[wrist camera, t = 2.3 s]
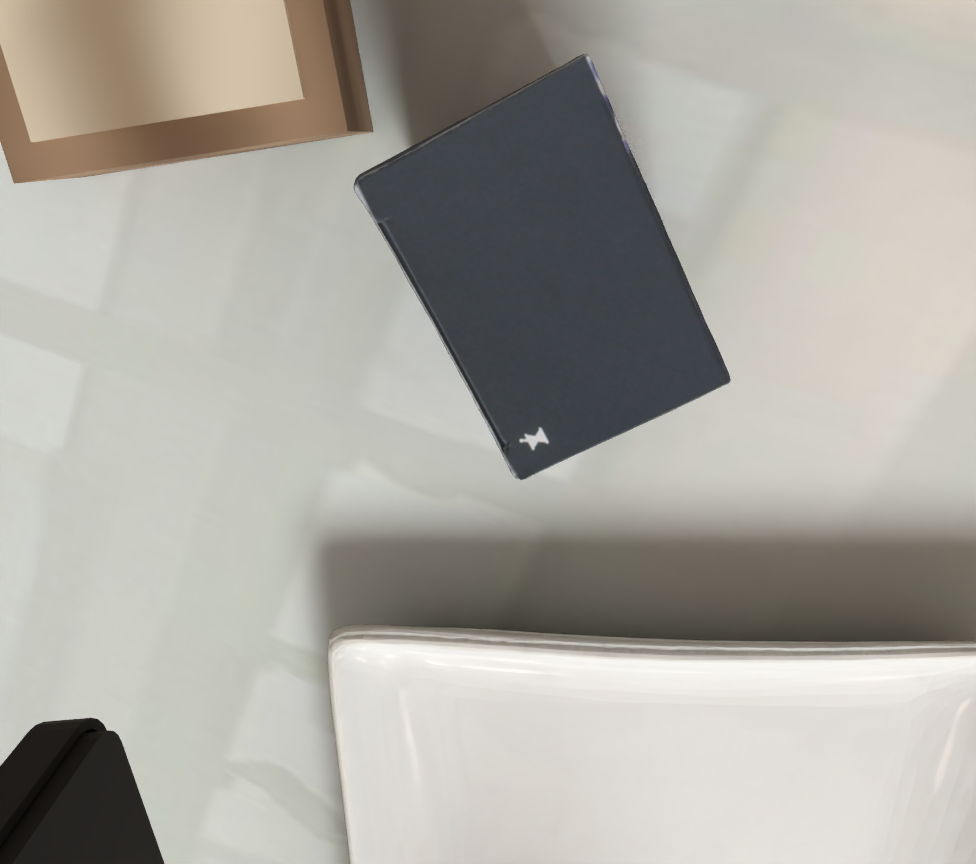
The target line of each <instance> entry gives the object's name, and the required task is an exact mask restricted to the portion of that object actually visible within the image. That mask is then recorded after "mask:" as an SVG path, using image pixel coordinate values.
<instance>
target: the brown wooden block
mask: <svg viewBox="0 0 976 864" xmlns="http://www.w3.org/2000/svg"><path fill="white" fill-rule="evenodd" d="M369 132H373V127H372V122H371V116H370V111H369V105H368V100H367V94H366V88H365V83H364V77H363V72H362V66H361V61H360V55H359V49H358V44H357V38H356V33H355V27H354V21H353V16H352V10H351V5H350V0H0V142H1V145H2V148H3V151H4V154H5V157H6V160H7V163H8V166H9V169H10V172H11V175H12V178H13V182H14V183H24V182H35V181H45V180H56V179H67V178H78V177H87V176H93V175H100V174H106V173H113V172H119V171H126V170H132V169H138V168H145V167H151V166H158V165H164V164H171V163H177V162H183V161H190V160H196V159H203V158H209V157H215V156H222V155H228V154H235V153H241V152H248V151H254V150H260V149H267V148H273V147H280V146H286V145H292V144H299V143H305V142H312V141H318V140H325V139H331V138H337V137H344V136H350V135H357V134H363V133H369Z"/></svg>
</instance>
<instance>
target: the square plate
mask: <svg viewBox="0 0 976 864" xmlns="http://www.w3.org/2000/svg"><path fill="white" fill-rule="evenodd" d="M328 673H329V686H330V698H331V706H332V714H333V725H334V733H335V739H336V751H337V758H338V766H339V773H340V781H341V789H342V798H343V806H344V814H345V822H346V831H347V840H348V848H349V860H350V864H976V641H921V642H916V641H879V642H790V641H705V640H677V639H651V638H626V637H607V636H588V635H569V634H551V633H536V632H522V631H507V630H493V629H473V628H438V627H412V626H393V625H348V626H342V627H339V628H337V629H335V630H333V632H332V633H331V635H330V637H329V643H328Z"/></svg>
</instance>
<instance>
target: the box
mask: <svg viewBox="0 0 976 864" xmlns="http://www.w3.org/2000/svg"><path fill="white" fill-rule="evenodd" d="M354 191H355V193H356V195H357V196H358V198H359V199H360V200H361V202H362V203H363V204H364V206H365V207H366V209H367V211H368V212H369V214H370V215H371V217H372V218H373V220H374V222H375V223H376V225H377V227H378V229H379V231H380V232H381V234H382V236H383V237H384V239H385V241H386V242H387V244H388V246H389V247H390V249H391V251H392V252H393V254H394V256H395V257H396V259H397V261H398V263H399V265H400V267H401V269H402V271H403V272H404V274H405V276H406V278H407V280H408V281H409V283H410V285H411V287H412V288H413V290H414V292H415V294H416V295H417V297H418V299H419V300H420V302H421V304H422V306H423V307H424V309H425V311H426V313H427V314H428V316H429V318H430V320H431V321H432V323H433V325H434V326H435V328H436V330H437V332H438V334H439V336H440V338H441V340H442V342H443V344H444V346H445V348H446V349H447V351H448V353H449V355H450V357H451V359H452V360H453V362H454V364H455V366H456V368H457V369H458V371H459V374H460V376H461V377H462V379H463V380H464V382H465V384H466V386H467V388H468V389H469V391H470V393H471V395H472V397H473V399H474V401H475V403H476V405H477V407H478V409H479V411H480V412H481V414H482V416H483V418H484V420H485V422H486V424H487V426H488V427H489V429H490V431H491V434H492V435H493V437H494V439H495V441H496V443H497V445H498V447H499V449H500V451H501V453H502V455H503V457H504V459H505V461H506V463H507V465H508V467H509V469H510V471H511V473H512V474H513V475H514V477H515V478H516V479H520V480H523V479H527V478H529V477H530V476H532V475H534V474H536V473H538V472H540V471H542V470H544V469H547V468H549V467H551V466H553V465H555V464H557V463H559V462H561V461H564V460H566V459H568V458H570V457H572V456H574V455H576V454H578V453H581V452H583V451H585V450H587V449H589V448H591V447H594V446H596V445H598V444H600V443H602V442H605V441H607V440H609V439H611V438H613V437H616V436H618V435H620V434H622V433H624V432H626V431H628V430H631V429H633V428H635V427H637V426H639V425H641V424H644V423H646V422H648V421H650V420H653V419H655V418H657V417H659V416H662V415H664V414H666V413H668V412H670V411H672V410H674V409H676V408H678V407H681V406H683V405H685V404H687V403H689V402H691V401H693V400H695V399H697V398H699V397H702V396H704V395H706V394H708V393H710V392H712V391H714V390H716V389H718V388H720V387H722V386H724V385H726V384H728V383H729V382H730V381H731V380H730V376H729V373H728V371H727V368H726V366H725V364H724V361H723V359H722V356H721V354H720V352H719V349H718V347H717V345H716V343H715V341H714V338H713V336H712V334H711V332H710V330H709V328H708V326H707V324H706V322H705V319H704V317H703V315H702V312H701V310H700V307H699V305H698V303H697V301H696V299H695V296H694V294H693V292H692V290H691V287H690V285H689V282H688V280H687V278H686V275H685V273H684V271H683V268H682V266H681V264H680V261H679V259H678V257H677V255H676V252H675V250H674V248H673V246H672V243H671V241H670V239H669V237H668V234H667V232H666V230H665V227H664V225H663V222H662V220H661V217H660V215H659V213H658V211H657V208H656V206H655V204H654V202H653V200H652V197H651V195H650V193H649V191H648V188H647V186H646V183H645V182H644V180H643V178H642V175H641V173H640V170H639V168H638V166H637V163H636V161H635V159H634V157H633V155H632V153H631V151H630V149H629V146H628V144H627V141H626V139H625V136H624V134H623V132H622V129H621V127H620V125H619V123H618V121H617V118H616V116H615V114H614V111H613V109H612V107H611V104H610V102H609V100H608V98H607V95H606V93H605V91H604V88H603V86H602V84H601V82H600V79H599V77H598V75H597V72H596V70H595V67H594V65H593V63H592V60H591V58H590V57H589V55H587V54H583V55H581V56H578V57H576V58H575V59H573V60H571V61H570V62H568V63H567V64H565V65H563V66H561V67H559V68H557V69H555V70H553V71H552V72H550V73H548V74H546V75H545V76H543V77H541V78H539V79H537V80H535V81H533V82H532V83H530V84H528V85H526V86H524V87H522V88H521V89H519V90H517V91H515V92H513V93H511V94H509V95H508V96H506V97H504V98H502V99H500V100H498V101H496V102H494V103H492V104H491V105H489V106H487V107H485V108H483V109H481V110H479V111H478V112H476V113H474V114H472V115H470V116H469V117H467V118H465V119H463V120H460V121H458V122H457V123H455V124H453V125H452V126H450V127H448V128H446V129H444V130H442V131H440V132H439V133H437V134H435V135H433V136H431V137H429V138H427V139H425V140H423V141H422V142H420V143H418V144H416V145H414V146H412V147H410V148H409V149H407V150H405V151H403V152H401V153H399V154H397V155H396V156H394V157H392V158H390V159H388V160H386V161H384V162H382V163H381V164H379V165H377V166H375V167H373V168H371V169H369V170H367V171H365V172H363V173H362V174H360V175H359V176H358V177H357V178H356V180H355V183H354Z"/></svg>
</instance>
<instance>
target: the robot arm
mask: <svg viewBox="0 0 976 864" xmlns="http://www.w3.org/2000/svg"><path fill="white" fill-rule="evenodd" d="M0 864H164V861H163V859H162V856H161V853H160V850H159V847H158V844H157V841H156V839H155V836H154V833H153V830H152V827H151V824H150V821H149V819H148V816H147V813H146V810H145V807H144V804H143V802H142V799H141V796H140V793H139V790H138V787H137V784H136V782H135V779H134V776H133V773H132V770H131V767H130V765H129V762H128V759H127V756H126V753H125V750H124V747H123V745H122V742H121V740H120V738H119V736H118V734H116V733H115V732H114V731H107V730H106V728H105V726H104V724H103V723H102V722H100V721H99V720H98V719H94V718H85V719H73V720H61V721H49V722H43V723H40V724H37V725H35V726H34V727H33V728H32V729H31V730H30V731H29V732H28V733H27V734H26V736H25V737H24V738H23V739H22V740H21V742H20V743H19V744H18V745H17V747H16V748H15V749H14V750H13V751H12V753H11V754H10V755H9V756H8V758H7V759H6V760H5V761H4V763H3V764H2V765H1V766H0Z"/></svg>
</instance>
